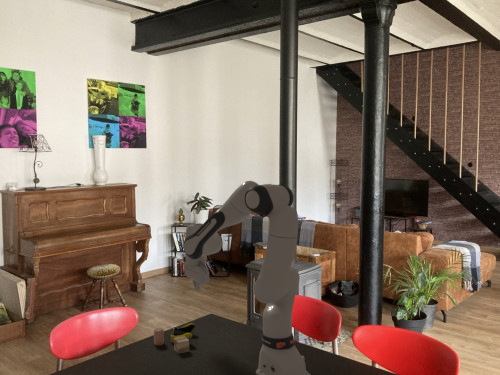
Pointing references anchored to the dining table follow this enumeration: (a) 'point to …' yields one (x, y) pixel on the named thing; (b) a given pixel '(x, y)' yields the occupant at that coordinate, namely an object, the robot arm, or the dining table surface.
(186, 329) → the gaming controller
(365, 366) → the dining table surface
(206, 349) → the dining table surface
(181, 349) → the maple block
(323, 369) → the dining table surface
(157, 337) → the terracotta cylinder
